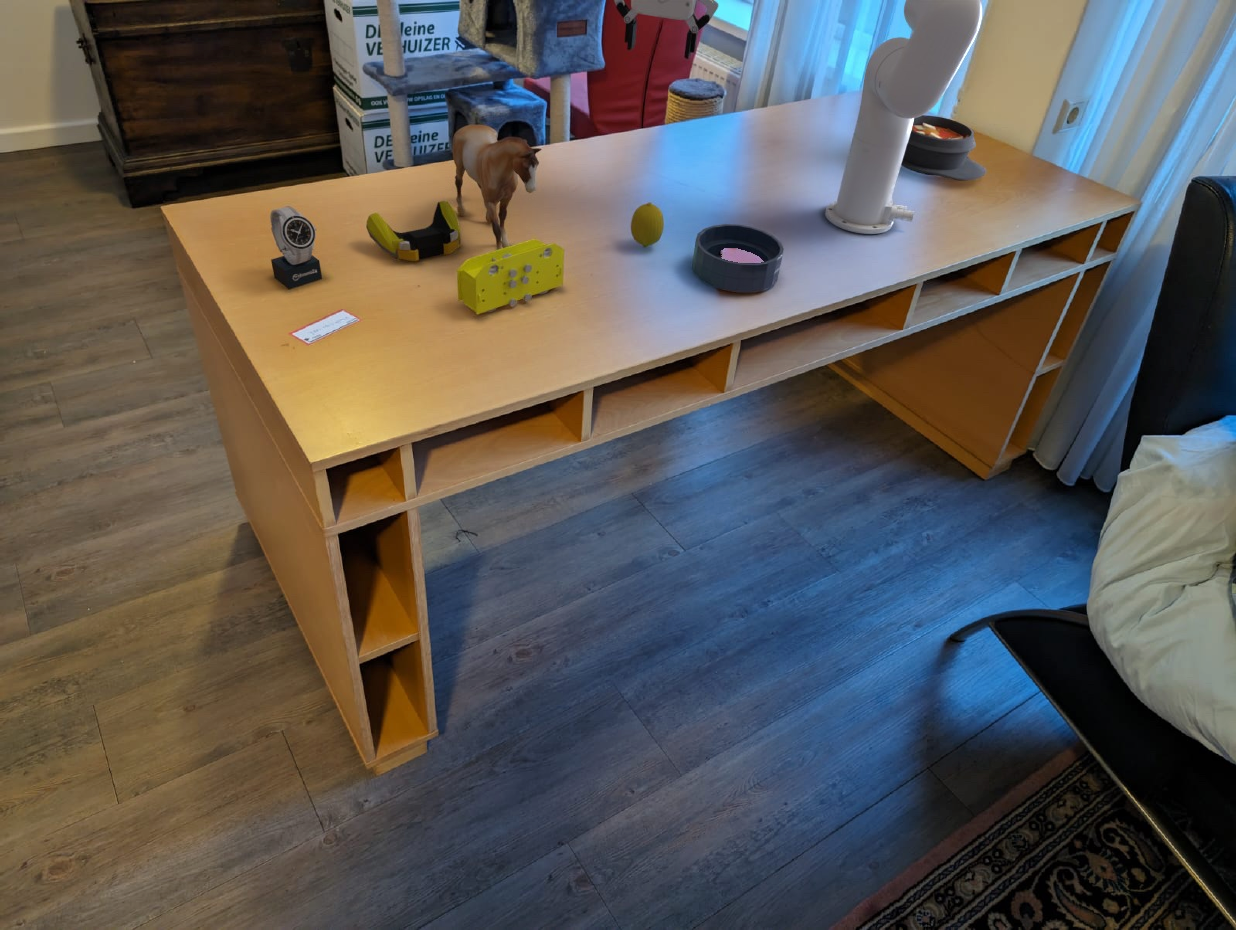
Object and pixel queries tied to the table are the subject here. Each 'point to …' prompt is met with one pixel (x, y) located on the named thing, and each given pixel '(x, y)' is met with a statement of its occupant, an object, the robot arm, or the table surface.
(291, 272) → the watch
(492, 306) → the yellow toy chassis
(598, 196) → the table surface
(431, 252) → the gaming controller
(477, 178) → the horse figurine
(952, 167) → the casserole
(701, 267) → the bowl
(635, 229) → the lemon
